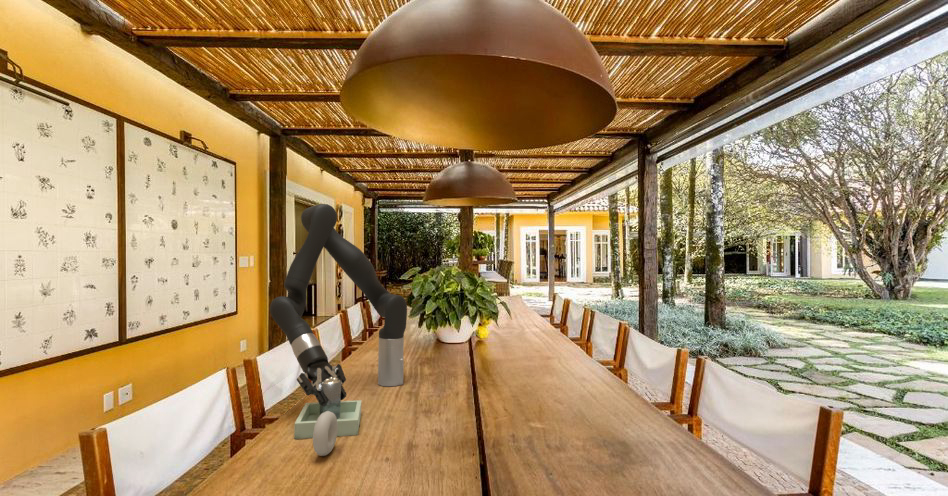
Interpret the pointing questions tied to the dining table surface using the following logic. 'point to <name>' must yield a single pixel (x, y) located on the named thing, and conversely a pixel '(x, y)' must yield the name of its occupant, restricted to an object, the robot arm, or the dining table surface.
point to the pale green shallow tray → (346, 422)
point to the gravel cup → (331, 396)
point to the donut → (325, 433)
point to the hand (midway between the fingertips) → (334, 401)
